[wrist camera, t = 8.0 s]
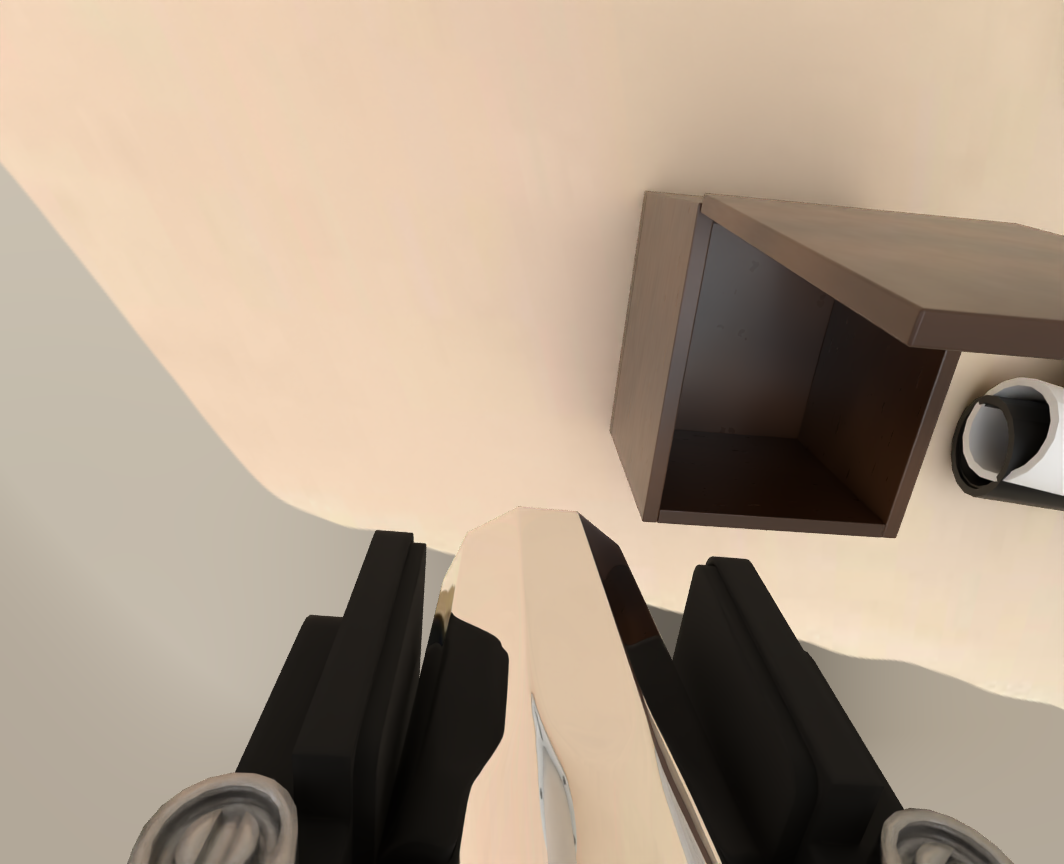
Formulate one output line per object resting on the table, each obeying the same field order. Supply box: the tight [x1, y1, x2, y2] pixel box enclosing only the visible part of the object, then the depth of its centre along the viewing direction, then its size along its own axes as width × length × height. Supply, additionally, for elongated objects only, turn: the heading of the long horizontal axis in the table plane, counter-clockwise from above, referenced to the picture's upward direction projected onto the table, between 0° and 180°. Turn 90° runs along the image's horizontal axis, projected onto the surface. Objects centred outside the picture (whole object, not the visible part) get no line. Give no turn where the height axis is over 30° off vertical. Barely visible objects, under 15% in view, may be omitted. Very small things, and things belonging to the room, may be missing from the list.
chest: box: [610, 191, 962, 538], centre depth 37 cm, size 16×14×12 cm
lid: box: [701, 193, 1064, 360], centre depth 20 cm, size 16×14×1 cm
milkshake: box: [375, 506, 767, 864], centre depth 7 cm, size 5×5×10 cm
